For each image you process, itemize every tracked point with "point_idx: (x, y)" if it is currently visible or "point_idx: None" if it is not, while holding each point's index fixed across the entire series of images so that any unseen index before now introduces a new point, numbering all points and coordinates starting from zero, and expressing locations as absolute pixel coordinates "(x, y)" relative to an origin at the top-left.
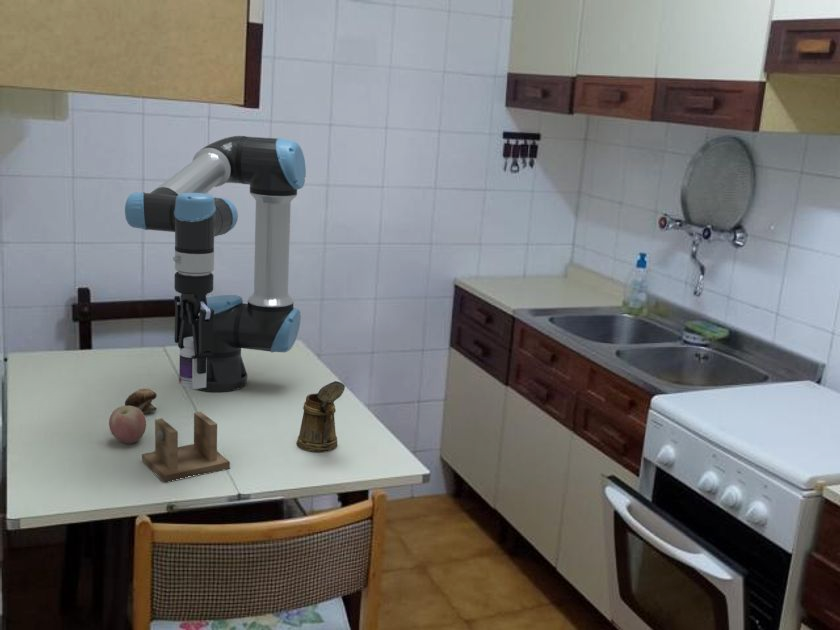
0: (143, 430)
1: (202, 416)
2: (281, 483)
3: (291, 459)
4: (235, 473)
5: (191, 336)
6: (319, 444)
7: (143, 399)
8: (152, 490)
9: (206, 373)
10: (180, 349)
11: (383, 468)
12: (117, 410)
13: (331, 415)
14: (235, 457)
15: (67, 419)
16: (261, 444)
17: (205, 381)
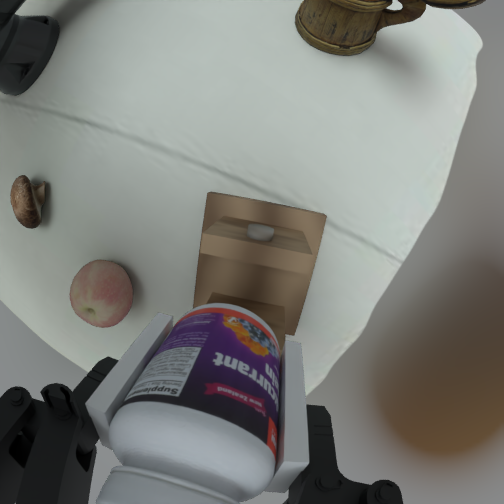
0: (124, 278)
1: (237, 251)
2: (425, 188)
3: (364, 99)
4: (347, 219)
5: (67, 478)
6: (371, 40)
7: (32, 211)
8: (302, 351)
9: (254, 343)
10: (104, 445)
11: (459, 46)
12: (83, 317)
13: (422, 13)
14: (288, 171)
15: (36, 291)
16: (267, 91)
17: (301, 362)
